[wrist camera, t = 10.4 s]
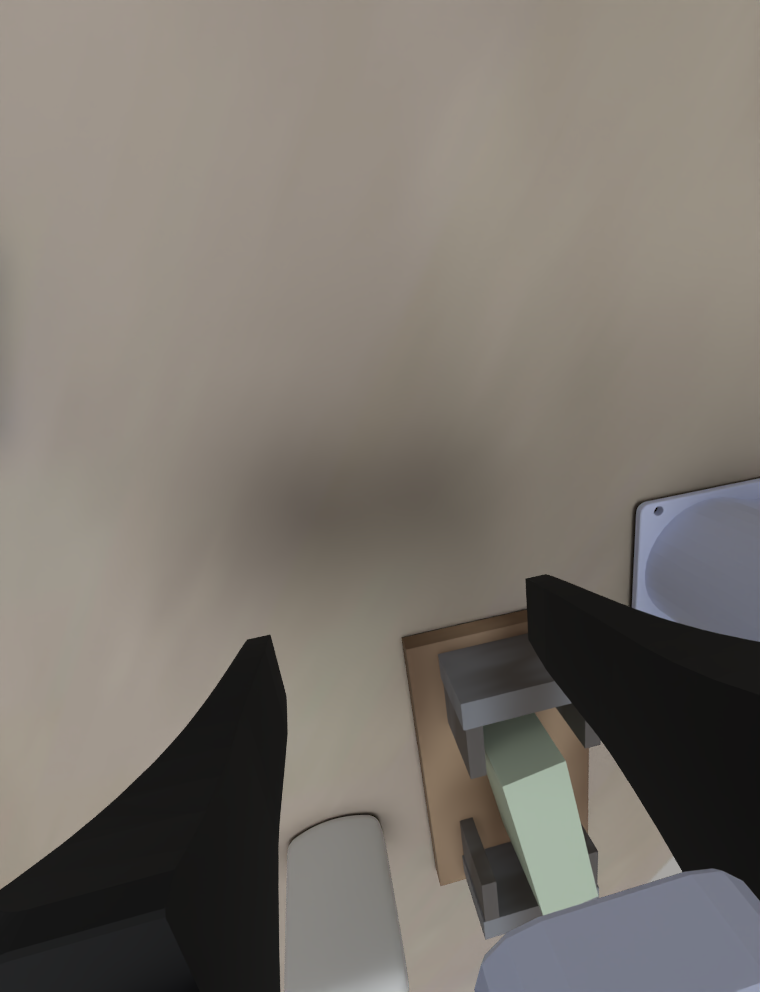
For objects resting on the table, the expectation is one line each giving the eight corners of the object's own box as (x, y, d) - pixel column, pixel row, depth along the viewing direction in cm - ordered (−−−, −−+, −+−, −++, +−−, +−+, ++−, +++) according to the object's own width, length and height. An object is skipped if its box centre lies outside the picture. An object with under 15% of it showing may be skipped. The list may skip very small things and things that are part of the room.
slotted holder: (579, 597, 25) (636, 648, 21) (578, 827, 31) (623, 904, 26) (401, 637, 24) (423, 700, 19) (436, 869, 29) (459, 956, 25)
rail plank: (514, 682, 24) (565, 760, 20) (547, 804, 28) (598, 896, 23) (463, 702, 24) (502, 786, 20) (503, 823, 28) (544, 919, 23)
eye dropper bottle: (369, 865, 28) (416, 1205, 17) (280, 862, 27) (267, 1228, 16) (390, 813, 27) (454, 1138, 16) (299, 806, 26) (298, 1156, 15)
